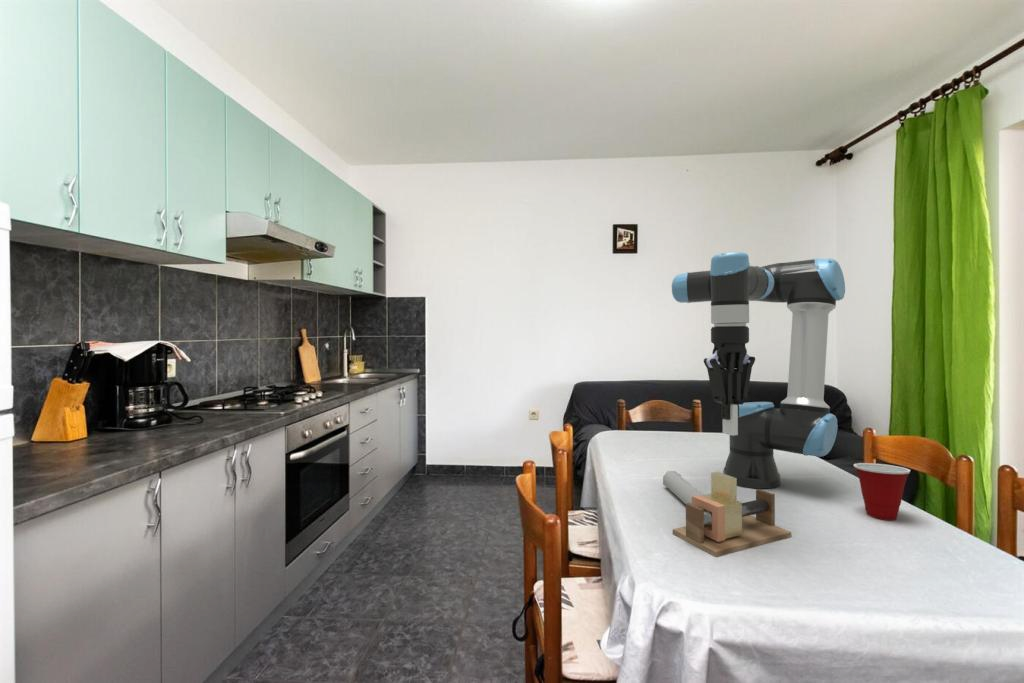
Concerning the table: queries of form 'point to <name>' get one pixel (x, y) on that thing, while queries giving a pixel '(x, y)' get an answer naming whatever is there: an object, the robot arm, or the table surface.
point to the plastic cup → (882, 488)
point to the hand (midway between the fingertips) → (730, 433)
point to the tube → (680, 486)
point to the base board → (752, 535)
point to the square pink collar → (718, 517)
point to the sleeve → (727, 502)
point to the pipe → (743, 510)
